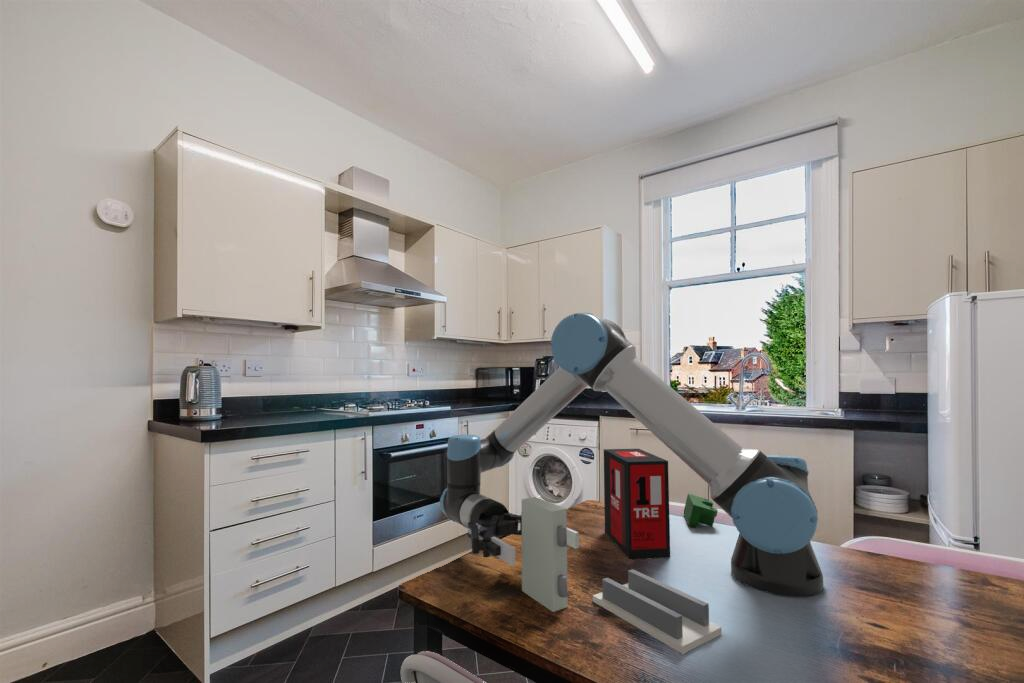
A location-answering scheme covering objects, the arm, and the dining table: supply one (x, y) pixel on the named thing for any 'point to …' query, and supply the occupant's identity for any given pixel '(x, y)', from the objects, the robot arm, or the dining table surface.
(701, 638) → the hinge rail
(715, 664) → the dining table surface
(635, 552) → the cleaning product box
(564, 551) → the door
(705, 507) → the clamp
